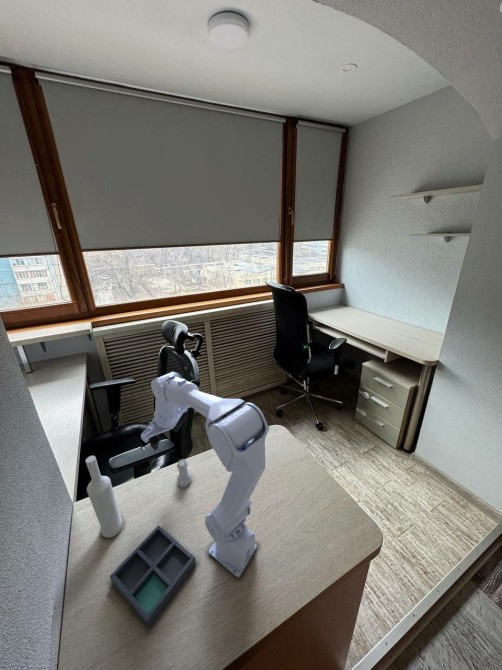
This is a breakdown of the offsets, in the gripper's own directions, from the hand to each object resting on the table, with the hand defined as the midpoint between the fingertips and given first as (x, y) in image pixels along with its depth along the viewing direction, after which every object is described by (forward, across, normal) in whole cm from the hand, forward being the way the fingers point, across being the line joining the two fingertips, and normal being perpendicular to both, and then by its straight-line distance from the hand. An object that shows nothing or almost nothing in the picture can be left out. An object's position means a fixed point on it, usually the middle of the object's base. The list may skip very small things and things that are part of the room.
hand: (164, 438), depth 79 cm
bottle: (+16, +20, +4) cm, 26 cm away
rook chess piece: (+15, -1, +9) cm, 18 cm away
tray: (+10, +20, +21) cm, 30 cm away
